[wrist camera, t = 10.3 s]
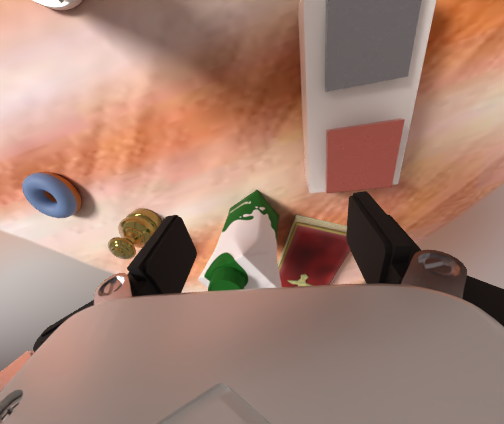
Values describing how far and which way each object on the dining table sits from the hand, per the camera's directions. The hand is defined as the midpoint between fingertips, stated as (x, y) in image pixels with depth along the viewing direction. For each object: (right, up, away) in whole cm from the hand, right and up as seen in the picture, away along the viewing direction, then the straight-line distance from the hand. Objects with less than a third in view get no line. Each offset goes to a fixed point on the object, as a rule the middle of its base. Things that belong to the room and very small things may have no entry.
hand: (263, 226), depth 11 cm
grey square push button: (+12, +21, +14) cm, 28 cm away
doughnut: (-41, +5, +32) cm, 52 cm away
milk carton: (0, +1, +29) cm, 29 cm away
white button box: (+13, +17, +18) cm, 27 cm away
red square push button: (+13, +10, +19) cm, 26 cm away
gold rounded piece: (-24, -1, +33) cm, 41 cm away
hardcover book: (+12, -9, +34) cm, 37 cm away
